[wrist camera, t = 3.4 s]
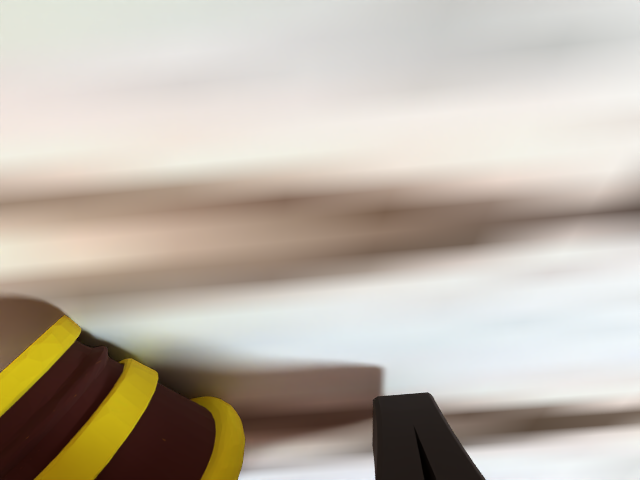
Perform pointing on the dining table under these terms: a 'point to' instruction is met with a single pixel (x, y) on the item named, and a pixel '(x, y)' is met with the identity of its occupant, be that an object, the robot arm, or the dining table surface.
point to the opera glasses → (107, 419)
